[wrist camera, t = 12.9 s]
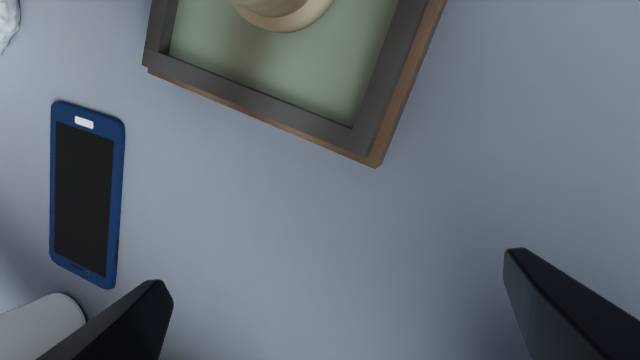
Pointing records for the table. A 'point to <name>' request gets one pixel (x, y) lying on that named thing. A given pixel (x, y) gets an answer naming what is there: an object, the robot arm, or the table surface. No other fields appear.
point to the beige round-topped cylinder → (282, 13)
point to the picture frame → (300, 66)
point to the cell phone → (85, 191)
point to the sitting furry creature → (8, 21)
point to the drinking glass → (38, 326)
